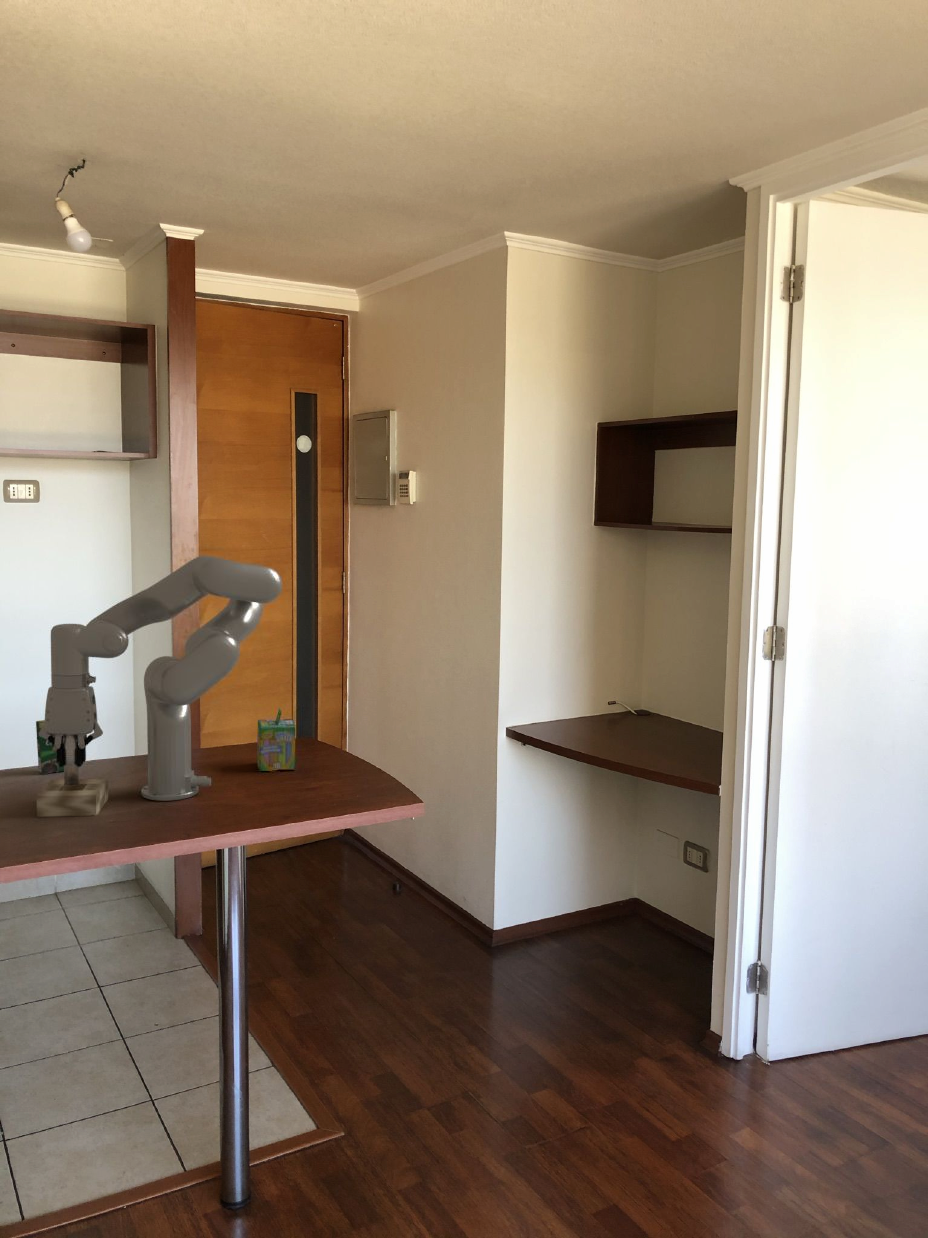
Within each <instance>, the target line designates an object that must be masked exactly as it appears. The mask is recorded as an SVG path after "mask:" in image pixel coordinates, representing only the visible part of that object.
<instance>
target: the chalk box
mask: <svg viewBox="0 0 928 1238" xmlns="http://www.w3.org/2000/svg"><path fill="white" fill-rule="evenodd" d="M281 715H282V709H281V708H280V707H279V708H278V712H277V715H276V718H271V719H267V718H266V719H265V718H264V719H258V720H257V749H256V751H257V752H256V763H257V767H258V768H257V769H258V772H259V771H270V772H273V771H272V770H278V769H295V770H296V724H295V722H294V719H293V718H281Z"/></svg>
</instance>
